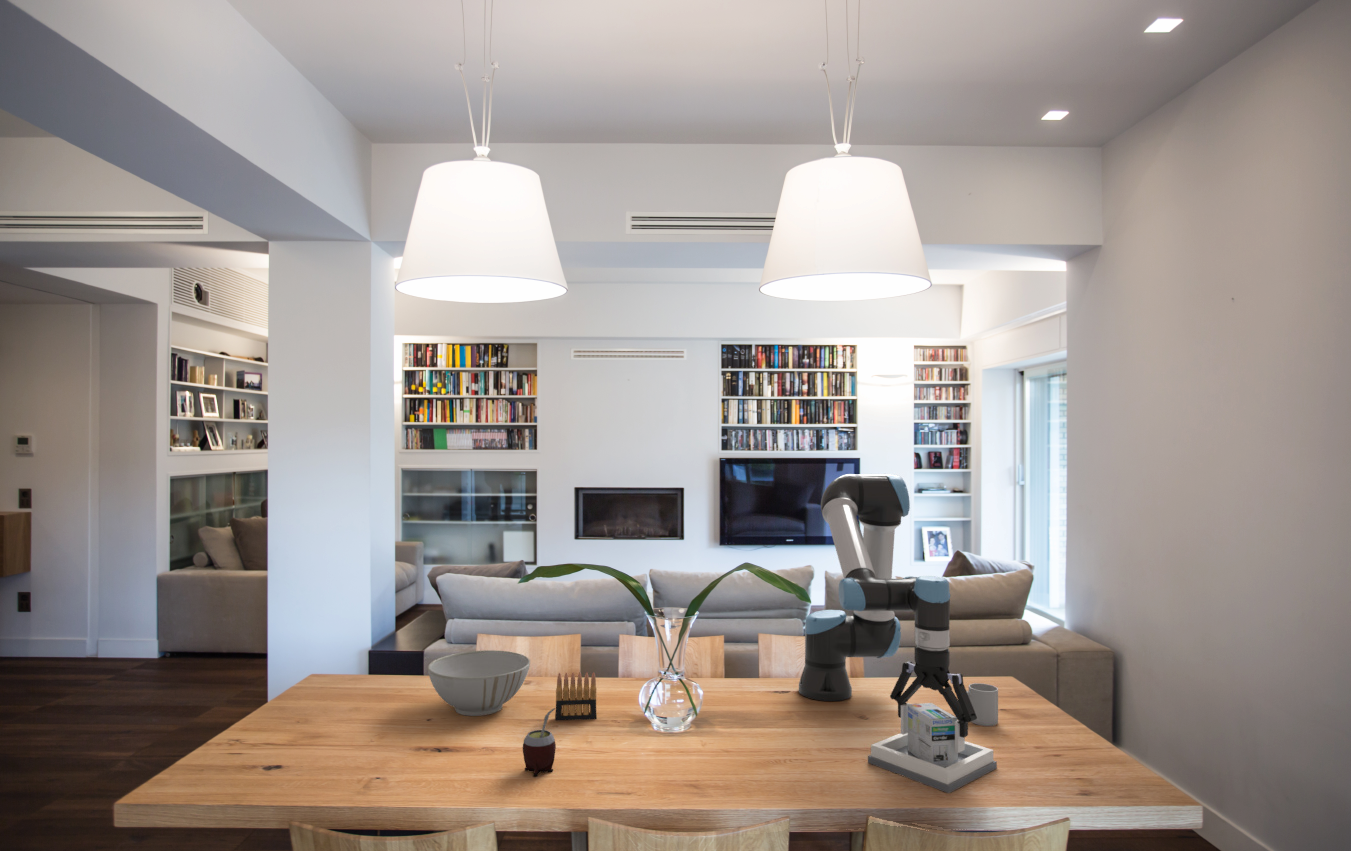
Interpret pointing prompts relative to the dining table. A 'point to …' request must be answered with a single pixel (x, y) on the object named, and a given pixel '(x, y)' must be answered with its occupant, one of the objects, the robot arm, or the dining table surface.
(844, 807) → the dining table surface
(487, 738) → the dining table surface
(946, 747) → the light bulb box
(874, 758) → the socket dock
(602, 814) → the dining table surface
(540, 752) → the mate gourd
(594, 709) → the ammunition clip
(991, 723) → the cup
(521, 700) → the dining table surface
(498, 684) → the decorative bowl
